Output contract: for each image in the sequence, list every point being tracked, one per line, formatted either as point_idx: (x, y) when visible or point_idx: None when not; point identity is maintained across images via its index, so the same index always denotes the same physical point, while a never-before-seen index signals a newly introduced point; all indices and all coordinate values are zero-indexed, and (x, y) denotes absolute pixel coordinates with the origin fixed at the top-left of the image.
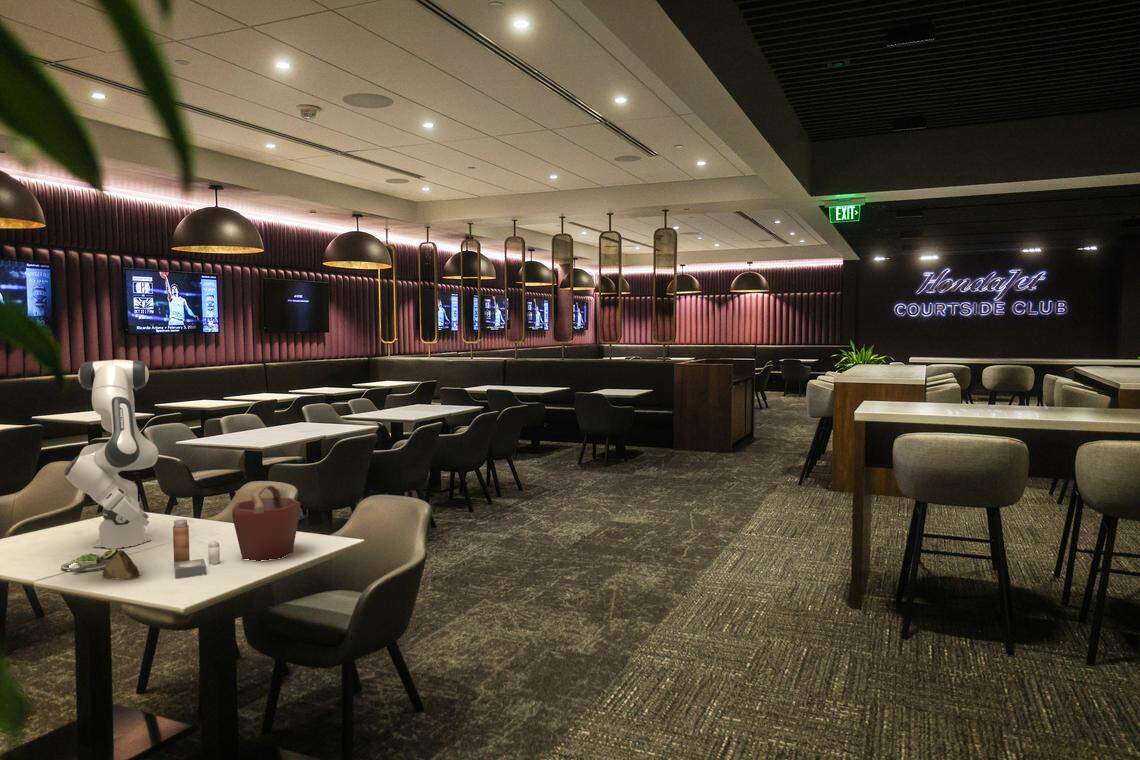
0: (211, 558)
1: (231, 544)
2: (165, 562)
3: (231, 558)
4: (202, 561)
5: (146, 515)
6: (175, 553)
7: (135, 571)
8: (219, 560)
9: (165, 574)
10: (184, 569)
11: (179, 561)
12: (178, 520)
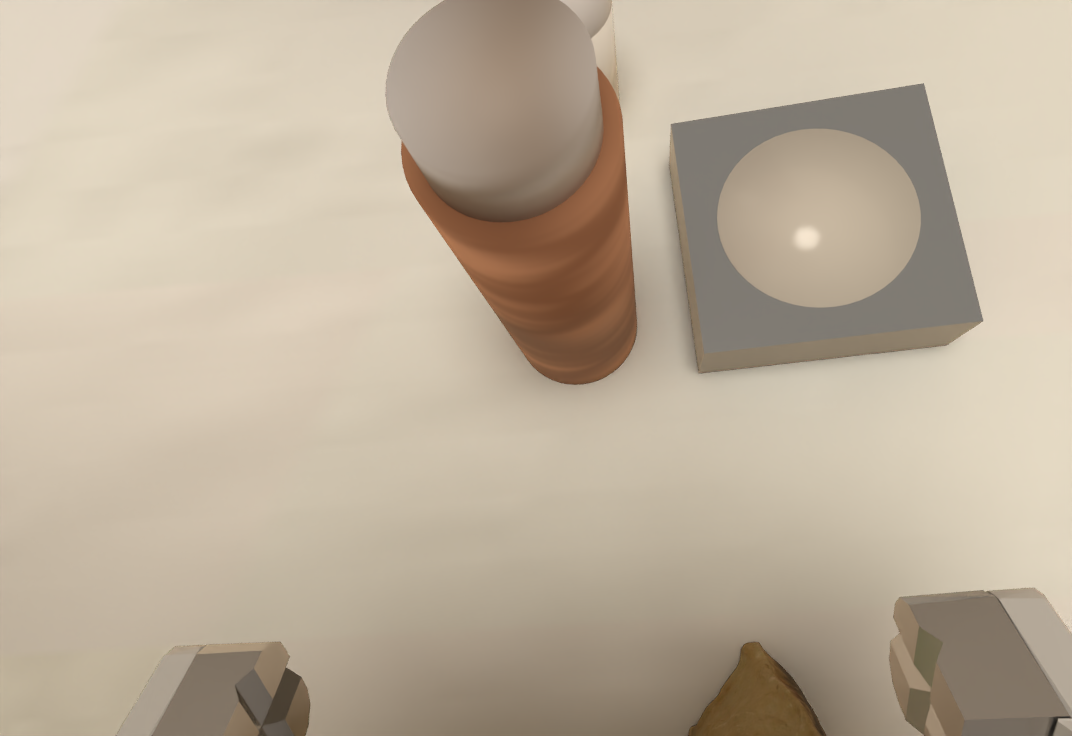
0: (613, 87)
1: (112, 45)
2: (380, 464)
3: None
4: (768, 123)
5: (241, 702)
6: (609, 329)
7: (806, 702)
8: None
9: (770, 437)
10: (959, 251)
11: (633, 319)
12: (456, 110)
